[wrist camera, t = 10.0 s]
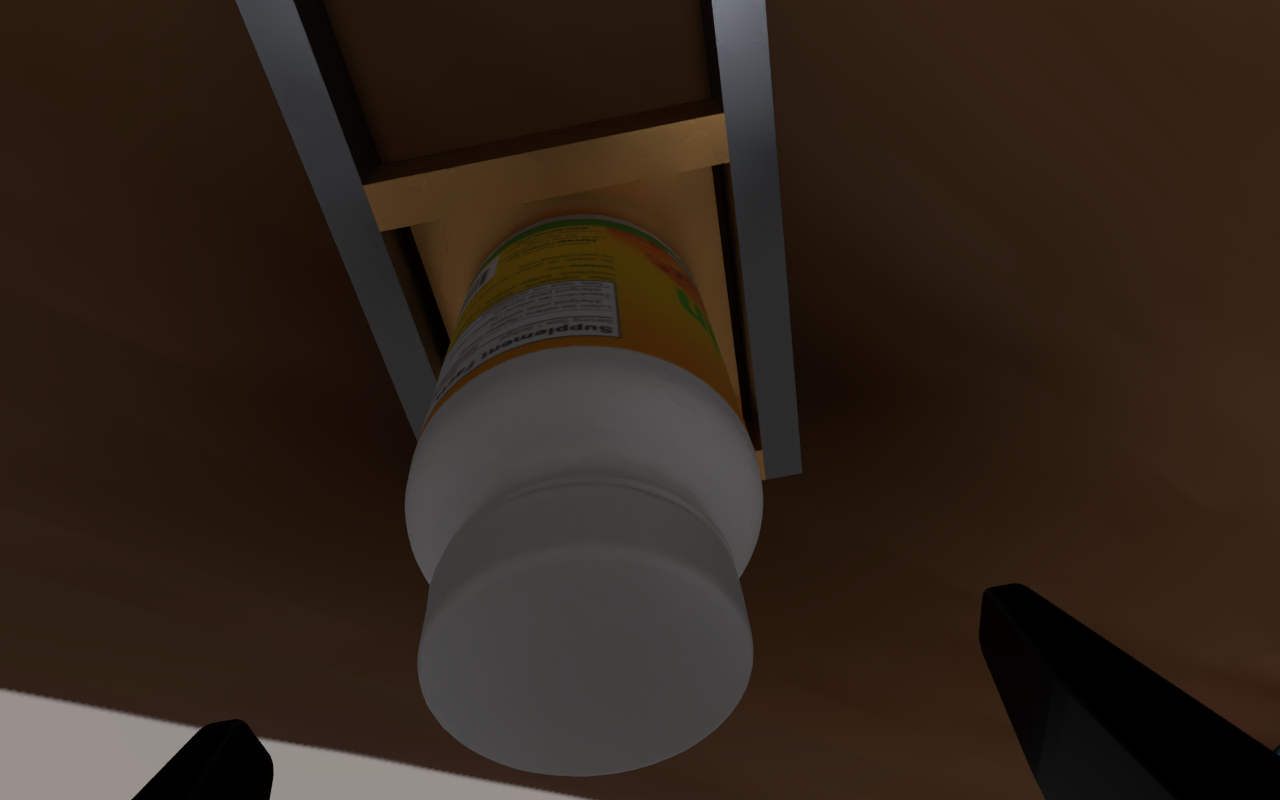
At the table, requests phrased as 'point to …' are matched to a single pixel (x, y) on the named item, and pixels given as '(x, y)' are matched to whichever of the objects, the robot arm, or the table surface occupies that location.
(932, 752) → the table surface
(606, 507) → the supplement bottle
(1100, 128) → the table surface
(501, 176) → the divided tray
